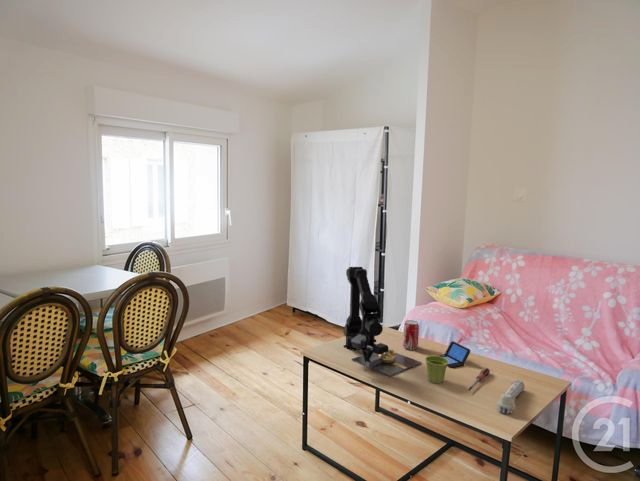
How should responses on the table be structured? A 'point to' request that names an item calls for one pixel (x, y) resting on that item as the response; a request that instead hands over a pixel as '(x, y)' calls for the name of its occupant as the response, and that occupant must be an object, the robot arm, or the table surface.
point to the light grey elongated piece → (510, 397)
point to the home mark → (399, 365)
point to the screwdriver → (480, 377)
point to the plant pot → (436, 368)
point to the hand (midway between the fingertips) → (366, 362)
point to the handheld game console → (456, 355)
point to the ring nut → (382, 359)
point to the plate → (390, 364)
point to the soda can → (411, 335)
